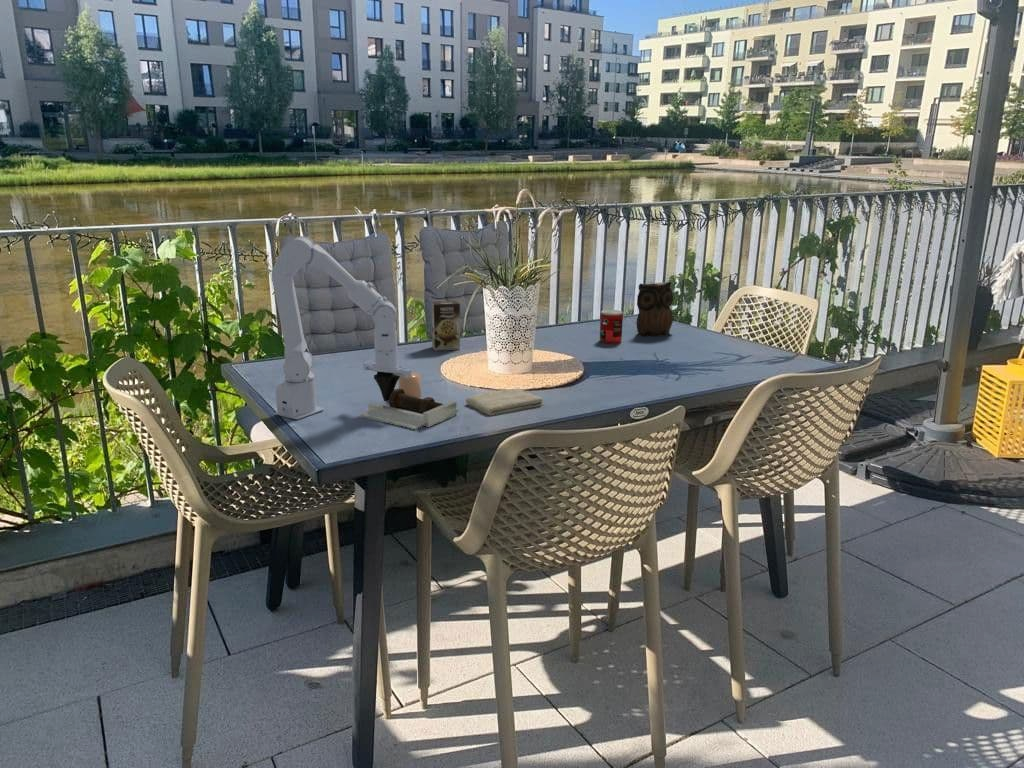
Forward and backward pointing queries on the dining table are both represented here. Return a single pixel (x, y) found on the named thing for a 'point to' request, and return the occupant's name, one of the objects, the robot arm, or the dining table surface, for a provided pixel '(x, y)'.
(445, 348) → the cookie box
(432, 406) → the bolt
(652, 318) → the owl
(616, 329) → the canned food
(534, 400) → the washcloth
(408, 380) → the tan rounded block
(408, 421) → the bracket
